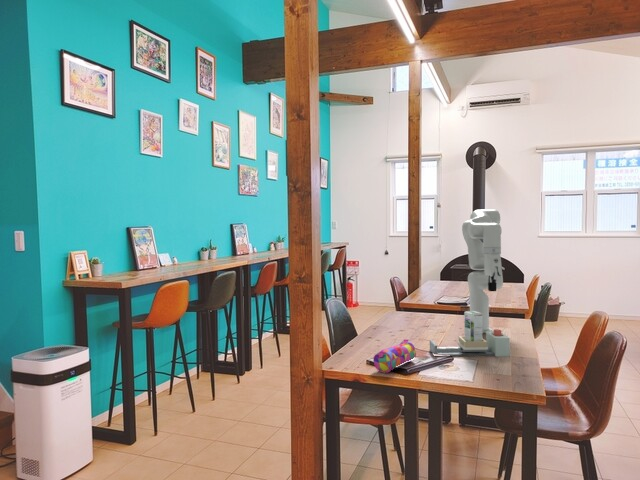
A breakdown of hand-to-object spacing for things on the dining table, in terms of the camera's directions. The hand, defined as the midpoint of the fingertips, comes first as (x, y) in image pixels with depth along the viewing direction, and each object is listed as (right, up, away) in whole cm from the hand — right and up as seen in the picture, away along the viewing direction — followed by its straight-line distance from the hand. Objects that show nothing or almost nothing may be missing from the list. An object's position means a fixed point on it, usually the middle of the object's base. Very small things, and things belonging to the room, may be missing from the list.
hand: (492, 290), depth 207 cm
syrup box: (-10, -24, -5) cm, 26 cm away
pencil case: (-48, -29, -21) cm, 59 cm away
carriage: (-11, -26, -5) cm, 28 cm away
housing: (0, -27, -5) cm, 27 cm away
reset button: (0, -24, -5) cm, 25 cm away
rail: (-15, -27, -5) cm, 32 cm away
